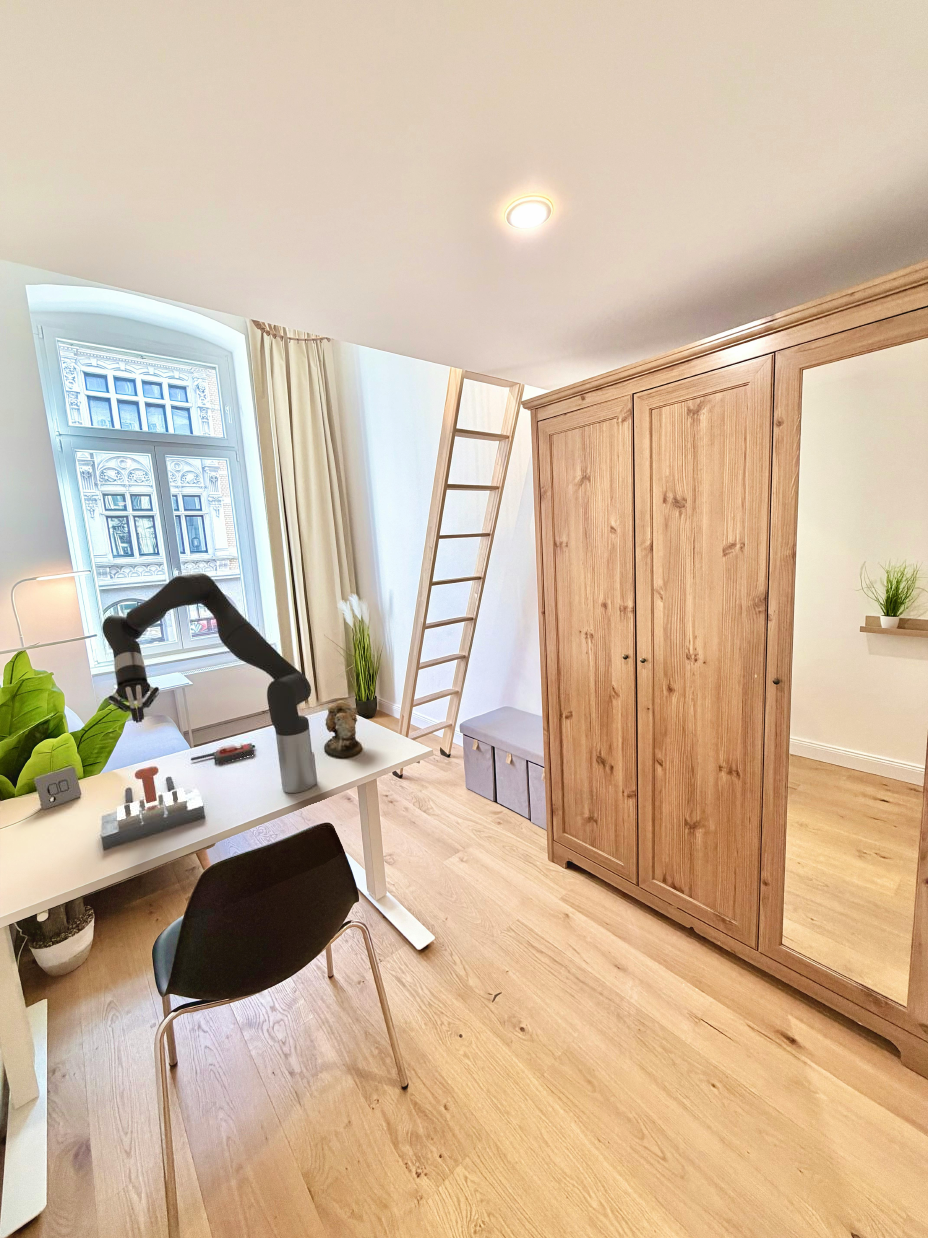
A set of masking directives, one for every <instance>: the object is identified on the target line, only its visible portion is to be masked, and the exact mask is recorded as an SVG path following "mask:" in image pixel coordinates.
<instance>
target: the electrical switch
mask: <svg viewBox="0 0 928 1238" xmlns="http://www.w3.org/2000/svg"><path fill="white" fill-rule="evenodd" d="M33 782H34V785H35V787H36V792H37V795H38V798H39V799H38V800H39V802H40V809H41V810H48V809H50V808H52V807H53V808H54V807H56V806H58V805H60V804H63V803H66V802H70V801H72V800H74V799H78V798H80V797H81V796H82V790H81V787H80V782H79V778H78V775H77V771H76V768H75V766H68V767H65V768H63V769H59V770H56V771H52V772H49V773H45V774H43V775H39V776H37V777H34V779H33ZM51 799H53V800H52V801H51Z"/></svg>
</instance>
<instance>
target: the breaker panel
mask: <svg viewBox="0 0 928 1238" xmlns="http://www.w3.org/2000/svg"><path fill="white" fill-rule="evenodd" d="M156 796H157V801H155V802H152V803H148V804H146V799H145V796H142V797H139V799H138V800H137V801H133V803H130V802H129V803H126V802H125V803H124V804H123V805H120V806H116V811H113V812H111V813H107V814H104V815H101V831H100V832H101V834H100V839H101V844H102V849H103V851H106V850H109V849H112V848H116V847H119V846H122V845H126V844H128V843H132V842H135V841H137V840H140V839H144V838H146V837H150V836H152V835H153V836H154V835H157V834H159V833H162V832H166V831H169V830H172V829H175V828H178V827H180V826H184V825H187V824H190V823H193V822H196V821H199V820H202V819H206V814H205V807H204V803H203V800H202V798H201V794H200V793H199V789H198V788H193V789H191V790H187V791H184V788H179V789H175V790H171V792H169V791H168V792H166V793H163V792H162V791H160V792H156Z"/></svg>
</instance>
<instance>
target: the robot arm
mask: <svg viewBox="0 0 928 1238" xmlns="http://www.w3.org/2000/svg"><path fill="white" fill-rule="evenodd" d="M199 604H200V605H202V606H203V607H205V608H206V609H207V610H208V611H209V613H210V614H211V615H212V616H213V618H214V620H215V623H216V630H217V633H218V637H219V640H220V641H221V643H222V644H223V645H224V646H225V647H226V648H227V650H228V651H229V652H230V653H231V654H233V656H235V658H237V659H238V660H240V661H241V662H244V663H246V664H248V665H250V666H253V667H255V668H257V669H259V670H261V671H262V672H264V673H266V674H267V675H268V676H270V677H271V679H272V681H271V682H270V683H269V685H268V686H267V690H266V699H267V706H268V711H269V712H268V713H269V717H270V721H271V724H272V726H273V728H274V729H275V736H276V737H275V738H276V746H277V754H278V763H279V765H278V766H279V770H280V771H279V772H280V773H279V774H280V780H281V787H282V791H283V792H285V793H287V794H295V793H296V794H297V793H302V792H305V791H308V790H309V789H311V788H313V787H314V786H316V785H318V775H317V765H316V756H315V753H314V752H313V750H312V741H311V740H312V739H311V730H310V723H309V721H310V720H309V719H308V717H307V716H305V715H299V710H298V705H301V704H302V703H304V702H306V701H308V699H309V698H310V697H311V694H312V687H311V684H310V682H309V680H308V678H307V677H306V676H305V675H304V674H303V673H302V672H301V671H300V670H298V668H296V667H295V666H293V665H292V664H291V663H290V662H289V661H288V660H287V659H285V657H284V656H282V655H281V654H280V653H279V652H278V651H277V650H276V649H275V648H274V647H273V646H272V644H270V643H269V642H268V640H266V639H265V637H263V636H262V634H261V633H260V632H259V631H258V630H257V629H256V628H255V626H253V625H252V624H251V623H250V622H249V621H248V620H247V619H246V618H245V617H244V616H243V615H242V614H241V613H240V611H239V610H238V609H237V608H236V607H235V606H234V605H233V604H232V603H231V601H230V600H229V599H228V597H227V596H226V595H225V594H224V592H223V591H222V590H221V588H220V587H219V586H218V585H217V583H216V582H215V581H214V579H212V578H211V577H210V576H209V575H207V573H204V572H190V573H188V572H187V573H181V574H178V575H175V576H174V577H173V578H172V579H170V580H169V581H168V582H167V583H166V584H165V585H164V586H163V587H162V588H161V589H159V590H158V592H157V591H156V593H155V594H154V595H152V596H151V597H149V598H148V599H147V600H145V601H144V602H142V603H140V604H138V605H137V606H135V607H133V608H132V609H130V610H129V611H128V612H127V613H126V616H123V615H118V614H110V615H109V616H107V617H105V619H104V620H103V621H102V622H103V623H102V626H101V627H102V633H103V635H104V638H105V640H106V641H107V643H108V645H109V646H110V648H111V650H112V653H113V661H114V663H113V664H114V665H113V666H114V667H113V668H114V675H115V680H116V687H117V688H116V690H115V693H114V694H113V695H111V694H110V695H109V696H108V697H107V698H108V700H109V701H108V703H109V704H111V705H113V706H114V707H115V708H117V709H119V710H121V711H122V712H124V713H127V712H130V713H131V717H132V718H131V719H132V721H133V722H135V723H136V724H138V723H142V722H143V720H145V713H144V709H146V708H147V709H149V708H150V707H151V706H152V704H153V702H154V701H155V700H156V699H157V697H158V696H159V695H160V688H159V687H158V686H155V687H153V686H152V685H151V684H150V683H149V682H148V676H147V671H146V666H145V660H144V658H143V655H142V650H141V644H140V643H139V642H138V641H137V640H138V639H140V638H141V637H142V635H144V633H145V631H146V630H147V629H148V628H149V627H152V626H153V625H155V624H156V623H158V622H161V620H162V619H163V618H164V617H166V614H167V613H168V612H170V611H171V610H174V609H177V608H180V607H183V606H184V607H185V606H194V605H199ZM148 694H149V695H148ZM147 695H148V696H147ZM146 696H147V697H146ZM120 698H121V699H122V700H123V701H122V700H120ZM145 698H146V699H145ZM143 699H145V700H143ZM124 701H125V702H128V704H129V705H128V704H127V703H125V702H124ZM135 702H136V704H137V706H136V704H135Z"/></svg>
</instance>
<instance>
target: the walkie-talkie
mask: <svg viewBox="0 0 928 1238" xmlns="http://www.w3.org/2000/svg"><path fill="white" fill-rule="evenodd" d="M255 748H256V745H255V744H252V742H251V743H245V744H243V743H240V745H235V744H229V745H225V746H221V747H219V749H216V751H214V752H209V753H207V754H202V755H198V756H193V757H191V758H190V761H193V762H194V761H197V760H202V759H206V758H210V757H213V760H214V763H217V764H218V765H221V764H225V762H226V763H229V761H230V762H233V761H232V760H234V761H238V760H237V759H239V760H241V759H240V758H242V759H245V758H244V757H247V756H251V757H253V756H255V750H254V749H255ZM252 755H253V756H252ZM247 758H248V757H247Z"/></svg>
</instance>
